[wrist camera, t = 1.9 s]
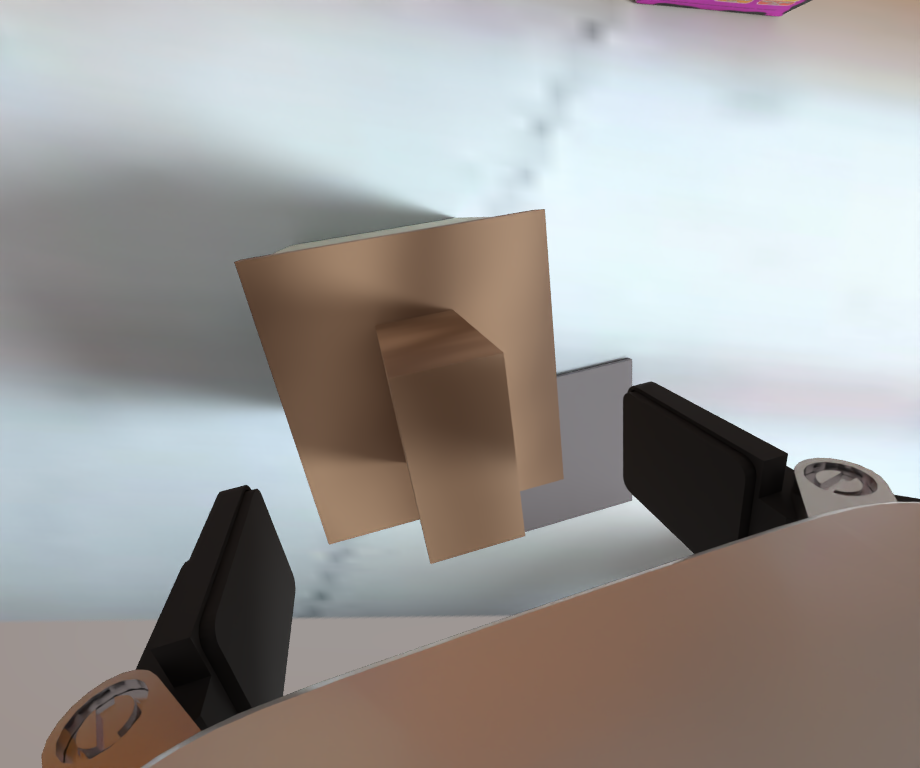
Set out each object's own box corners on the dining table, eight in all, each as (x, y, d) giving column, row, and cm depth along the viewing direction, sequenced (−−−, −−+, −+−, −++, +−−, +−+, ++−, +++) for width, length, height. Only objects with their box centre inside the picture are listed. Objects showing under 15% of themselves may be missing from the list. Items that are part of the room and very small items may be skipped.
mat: (629, 358, 36) (632, 359, 36) (629, 497, 41) (632, 500, 41) (464, 397, 34) (466, 398, 33) (487, 539, 39) (488, 542, 39)
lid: (525, 210, 18) (643, 203, 11) (546, 458, 23) (640, 571, 15) (247, 257, 16) (165, 287, 9) (330, 516, 21) (321, 675, 14)
